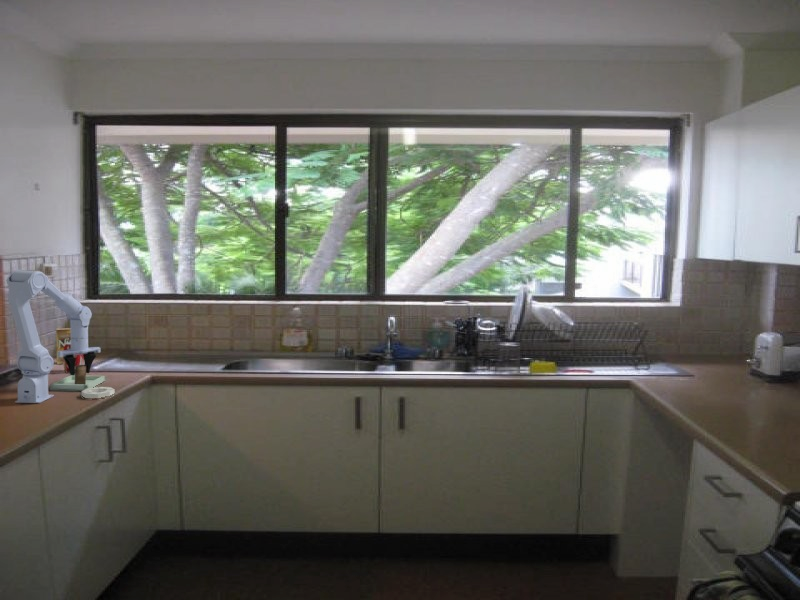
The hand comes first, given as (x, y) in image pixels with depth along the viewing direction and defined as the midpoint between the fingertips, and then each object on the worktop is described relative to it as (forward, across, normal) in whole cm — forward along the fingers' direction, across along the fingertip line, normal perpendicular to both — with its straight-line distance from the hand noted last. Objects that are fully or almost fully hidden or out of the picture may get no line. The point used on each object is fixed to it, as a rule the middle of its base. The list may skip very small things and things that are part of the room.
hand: (79, 373), depth 218 cm
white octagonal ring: (+5, -2, -17) cm, 18 cm away
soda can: (+5, +9, +26) cm, 28 cm away
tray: (+5, 0, +1) cm, 5 cm away
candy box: (+5, +15, +44) cm, 47 cm away
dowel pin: (+4, 0, 0) cm, 4 cm away
